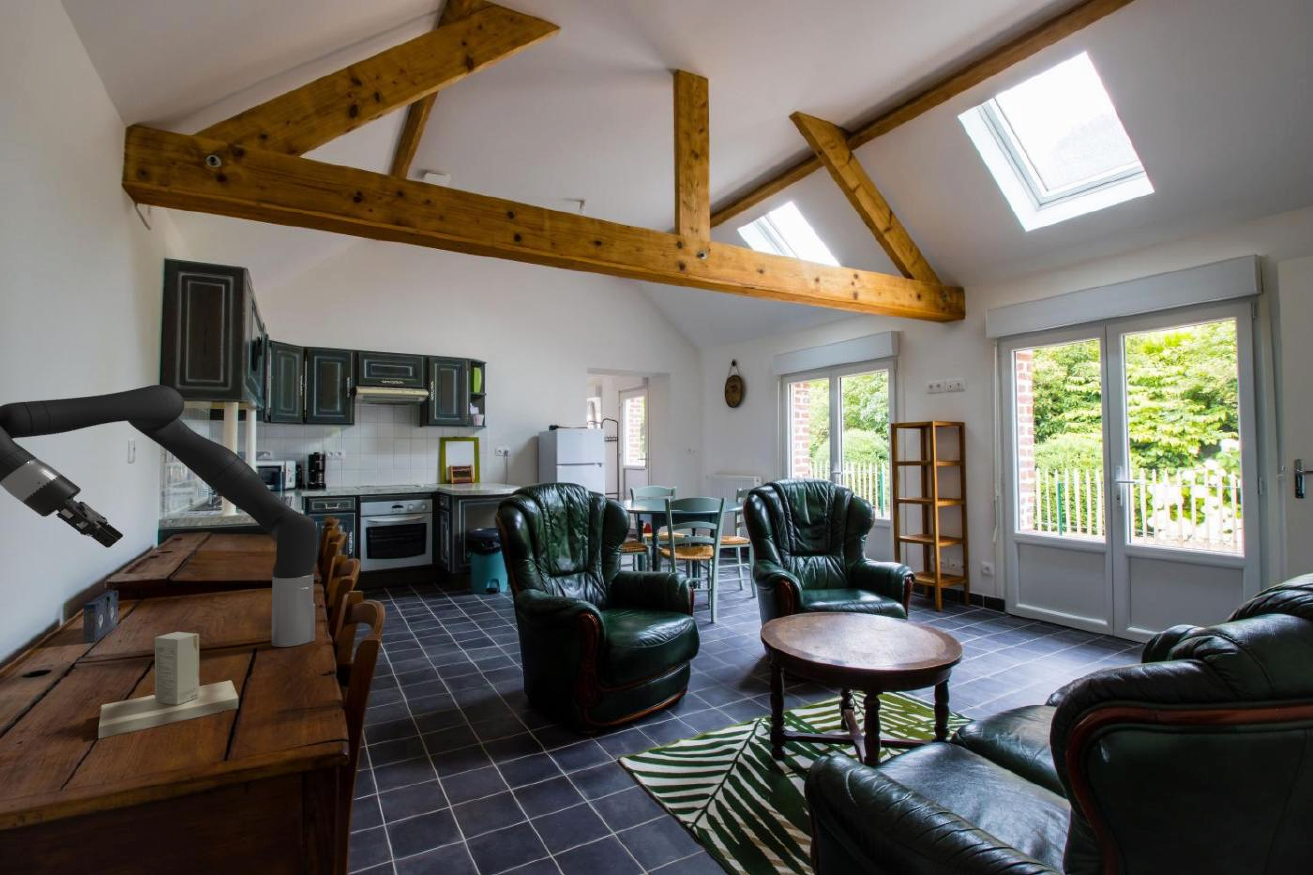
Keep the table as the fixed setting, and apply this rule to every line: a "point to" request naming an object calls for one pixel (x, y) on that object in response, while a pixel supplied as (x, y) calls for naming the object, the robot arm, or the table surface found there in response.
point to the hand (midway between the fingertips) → (116, 541)
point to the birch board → (165, 710)
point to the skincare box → (176, 667)
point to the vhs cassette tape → (100, 616)
